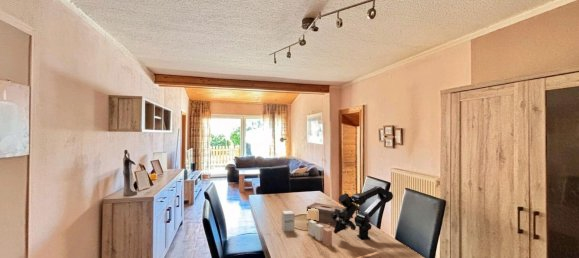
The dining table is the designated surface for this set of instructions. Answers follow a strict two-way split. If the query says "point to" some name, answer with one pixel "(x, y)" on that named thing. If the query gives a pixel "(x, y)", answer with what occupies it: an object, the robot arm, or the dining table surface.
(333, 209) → the tissue box cover
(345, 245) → the dining table surface
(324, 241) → the terracotta key
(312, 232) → the far key
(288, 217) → the supplement box
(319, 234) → the middle key
